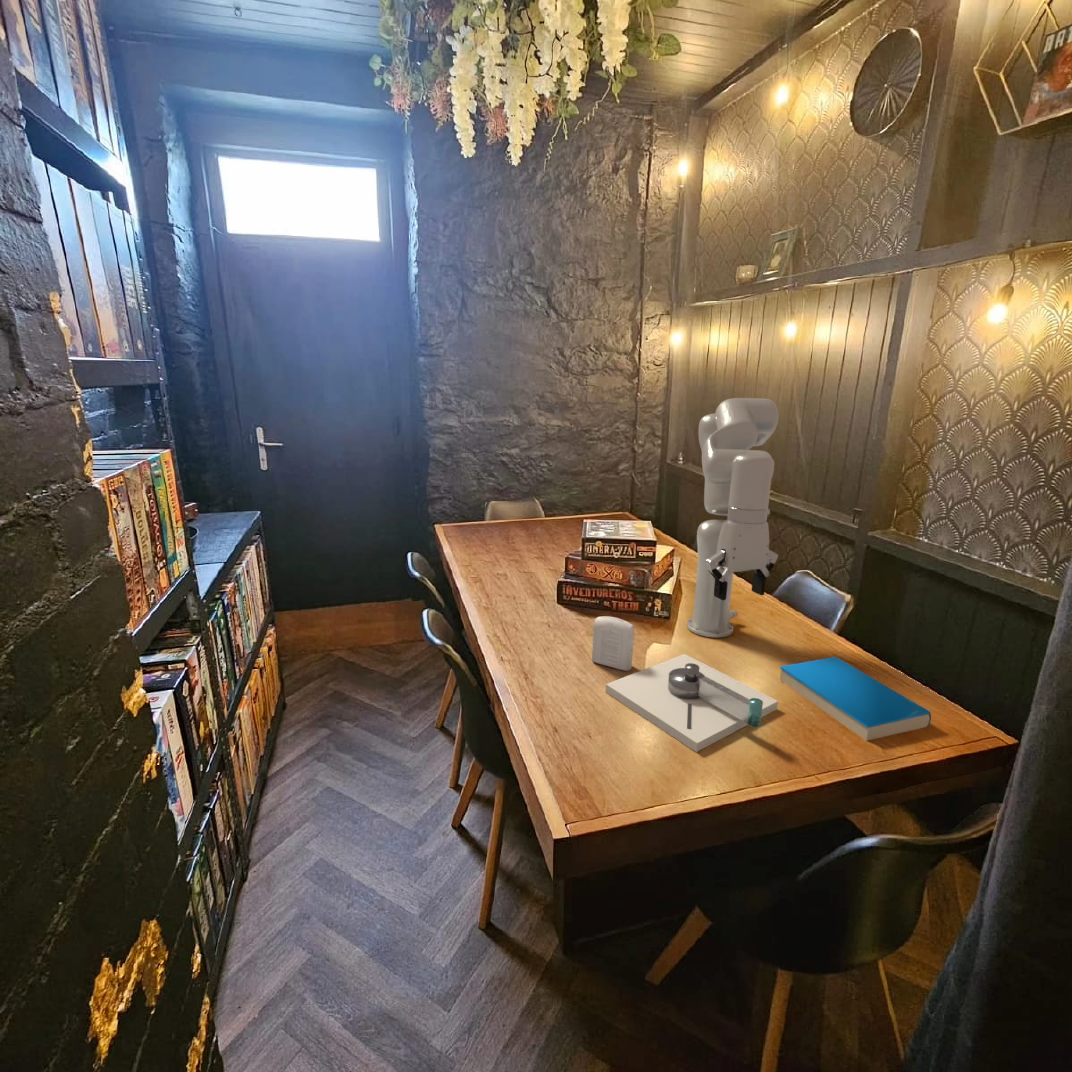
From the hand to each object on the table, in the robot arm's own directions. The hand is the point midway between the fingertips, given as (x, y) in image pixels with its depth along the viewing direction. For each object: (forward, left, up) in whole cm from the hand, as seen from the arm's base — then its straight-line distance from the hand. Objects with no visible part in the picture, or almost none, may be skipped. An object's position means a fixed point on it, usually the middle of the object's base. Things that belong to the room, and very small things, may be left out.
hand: (738, 595), depth 121 cm
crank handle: (+7, +1, -23) cm, 24 cm away
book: (-22, +15, -26) cm, 37 cm away
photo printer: (+10, -27, -25) cm, 38 cm away
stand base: (+7, -5, -25) cm, 26 cm away
